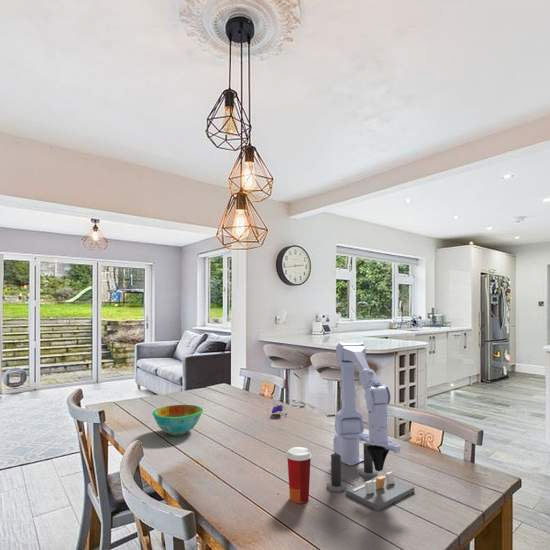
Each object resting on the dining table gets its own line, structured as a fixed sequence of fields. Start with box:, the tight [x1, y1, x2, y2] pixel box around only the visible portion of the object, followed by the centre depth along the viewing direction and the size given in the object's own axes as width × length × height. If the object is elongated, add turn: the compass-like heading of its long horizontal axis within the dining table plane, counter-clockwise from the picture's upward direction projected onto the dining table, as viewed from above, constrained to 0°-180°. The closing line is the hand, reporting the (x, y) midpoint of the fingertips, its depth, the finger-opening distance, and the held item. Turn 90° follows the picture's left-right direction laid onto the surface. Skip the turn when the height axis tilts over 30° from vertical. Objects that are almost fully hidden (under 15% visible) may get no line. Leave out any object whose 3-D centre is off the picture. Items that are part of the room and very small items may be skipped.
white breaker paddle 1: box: [364, 479, 375, 494], centre depth 117 cm, size 1×3×3 cm, turn 128°
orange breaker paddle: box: [375, 476, 385, 489], centre depth 121 cm, size 1×3×3 cm, turn 128°
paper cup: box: [285, 446, 313, 504], centre depth 118 cm, size 8×8×14 cm
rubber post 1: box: [326, 453, 347, 493], centre depth 124 cm, size 6×6×10 cm
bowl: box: [152, 404, 204, 437], centre depth 177 cm, size 22×22×10 cm
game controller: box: [266, 403, 288, 417], centre depth 204 cm, size 10×8×10 cm
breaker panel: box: [345, 473, 415, 512], centre depth 120 cm, size 12×18×2 cm, turn 128°
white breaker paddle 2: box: [384, 471, 395, 484], centre depth 124 cm, size 1×3×3 cm, turn 128°
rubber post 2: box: [359, 442, 379, 479], centre depth 134 cm, size 6×6×10 cm
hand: (378, 470), depth 121 cm, fingers closed
